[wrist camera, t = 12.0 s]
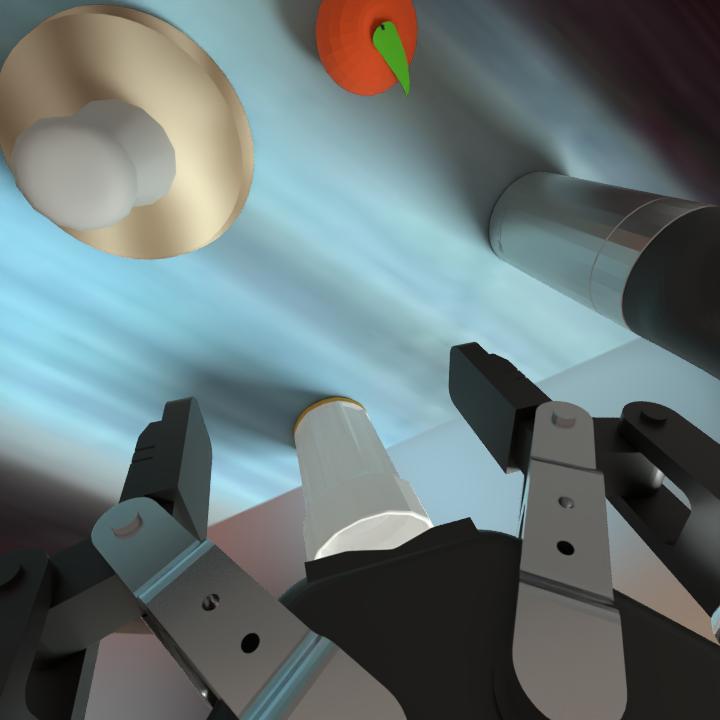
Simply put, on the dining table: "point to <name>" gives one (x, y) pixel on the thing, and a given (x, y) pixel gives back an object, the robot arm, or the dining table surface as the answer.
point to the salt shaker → (93, 164)
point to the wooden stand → (154, 95)
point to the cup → (351, 484)
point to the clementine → (367, 43)
